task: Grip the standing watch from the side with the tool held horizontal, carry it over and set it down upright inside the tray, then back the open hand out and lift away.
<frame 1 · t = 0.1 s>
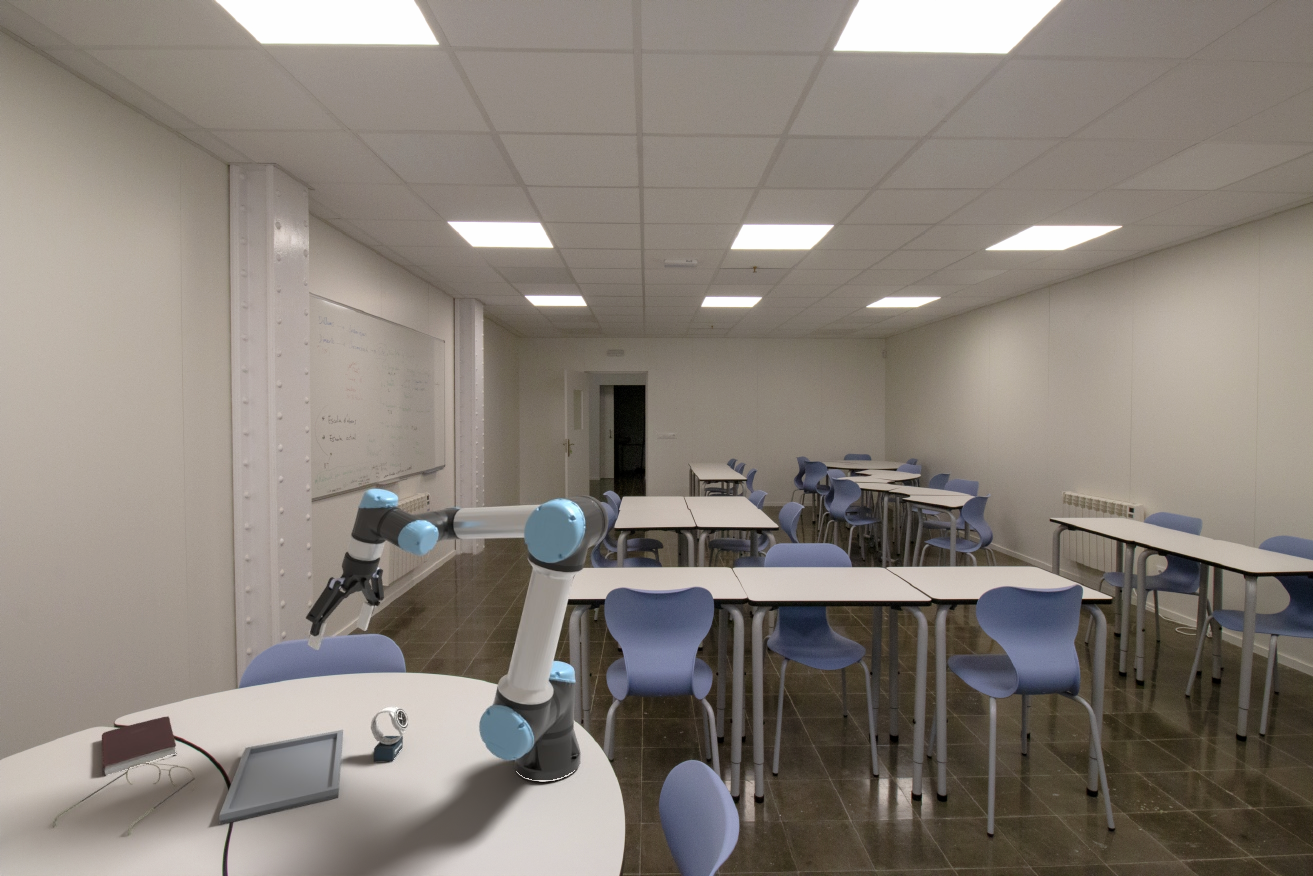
hand: (338, 637, 134), 28 cm above the table, tool tilted 20°, fingers open, 13 cm apart
eyeglasses: (130, 809, 114), on the table
watch: (388, 756, 135), on the table
tray: (289, 775, 126), on the table
book: (138, 751, 135), on the table
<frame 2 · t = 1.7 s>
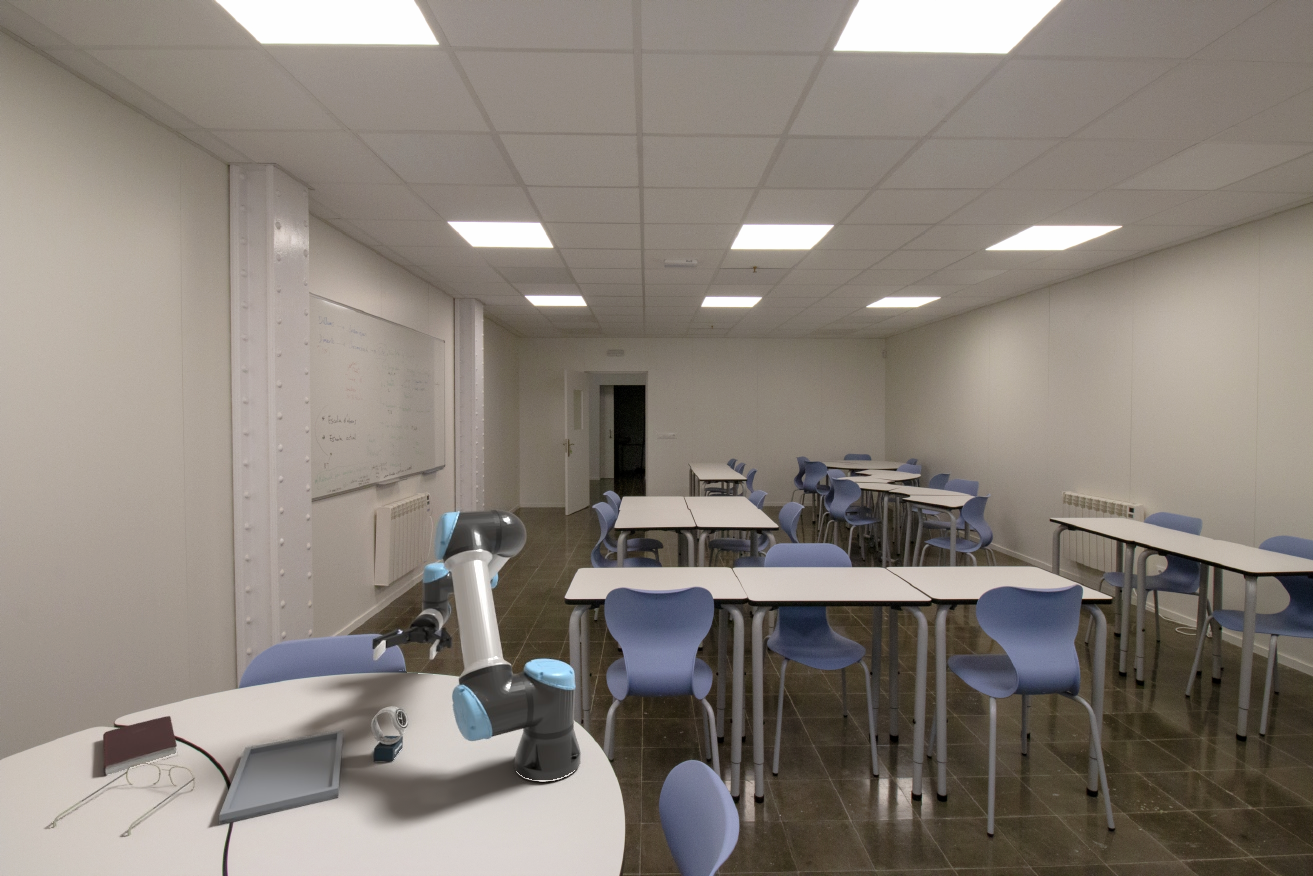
hand: (403, 654, 144), 20 cm above the table, tool horizontal, fingers open, 13 cm apart
nothing on the table moved.
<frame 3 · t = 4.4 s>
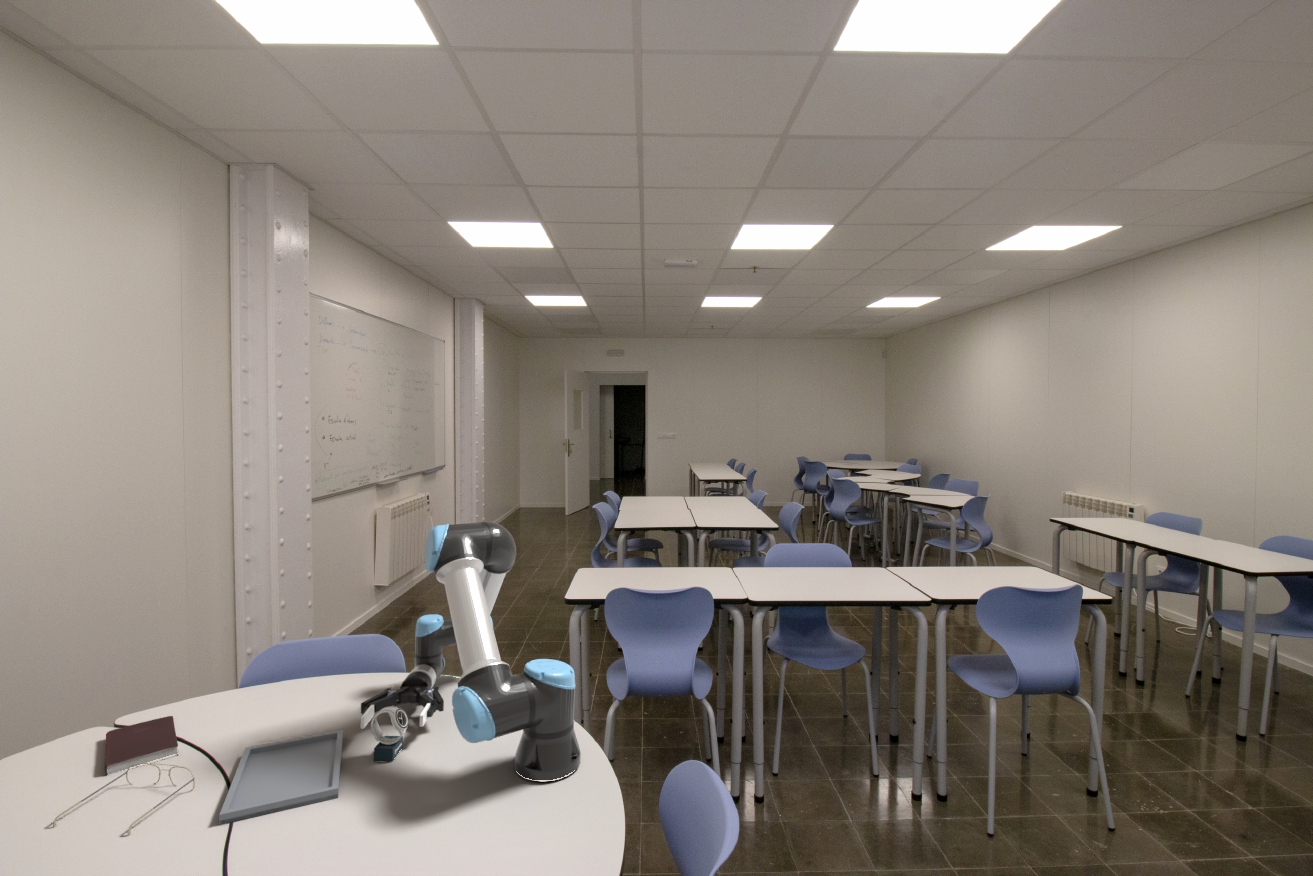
hand: (391, 722, 138), 6 cm above the table, tool horizontal, fingers open, 13 cm apart
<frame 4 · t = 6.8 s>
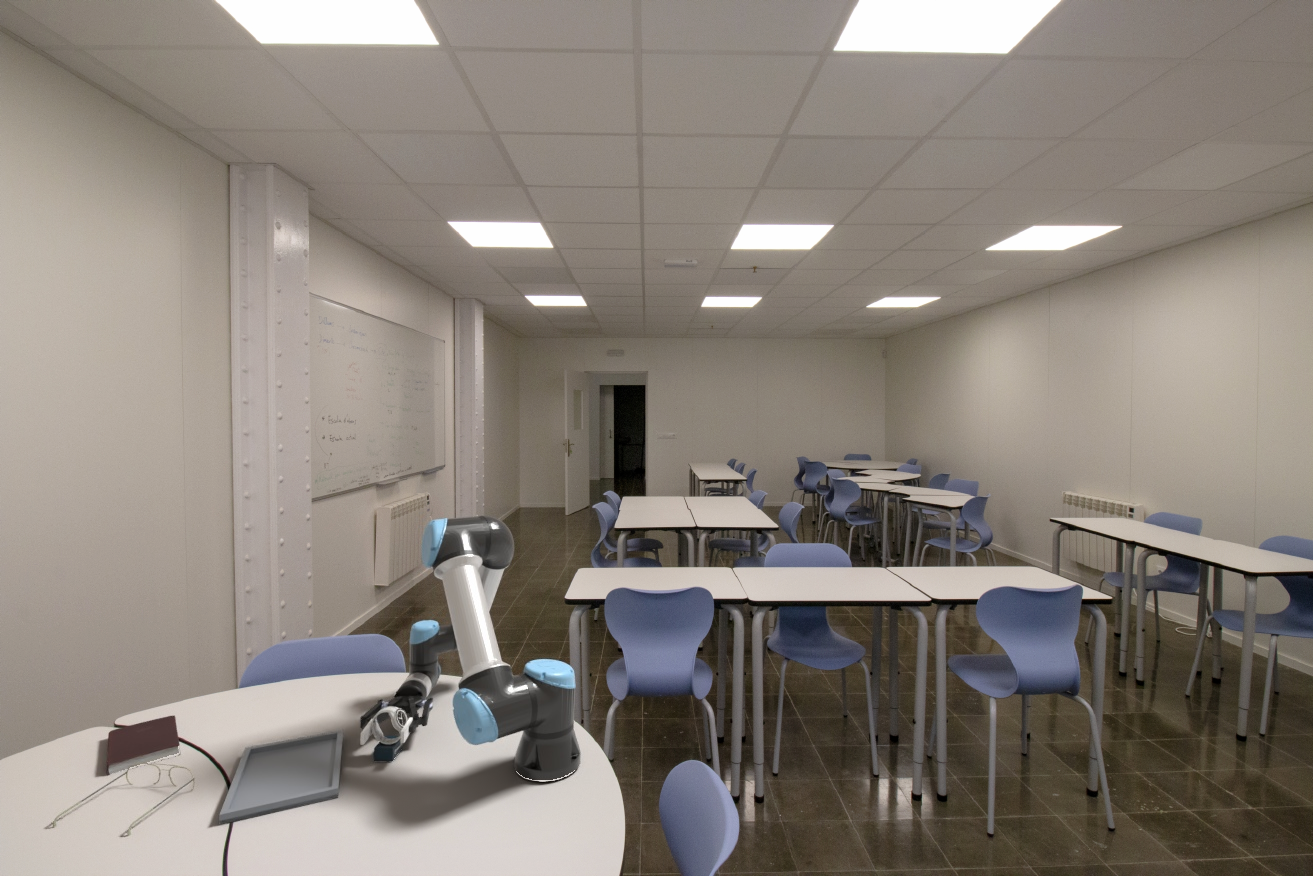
hand: (382, 738, 130), 7 cm above the table, tool horizontal, fingers closed on watch, 8 cm apart
watch: (388, 755, 135), on the table, touching gripper
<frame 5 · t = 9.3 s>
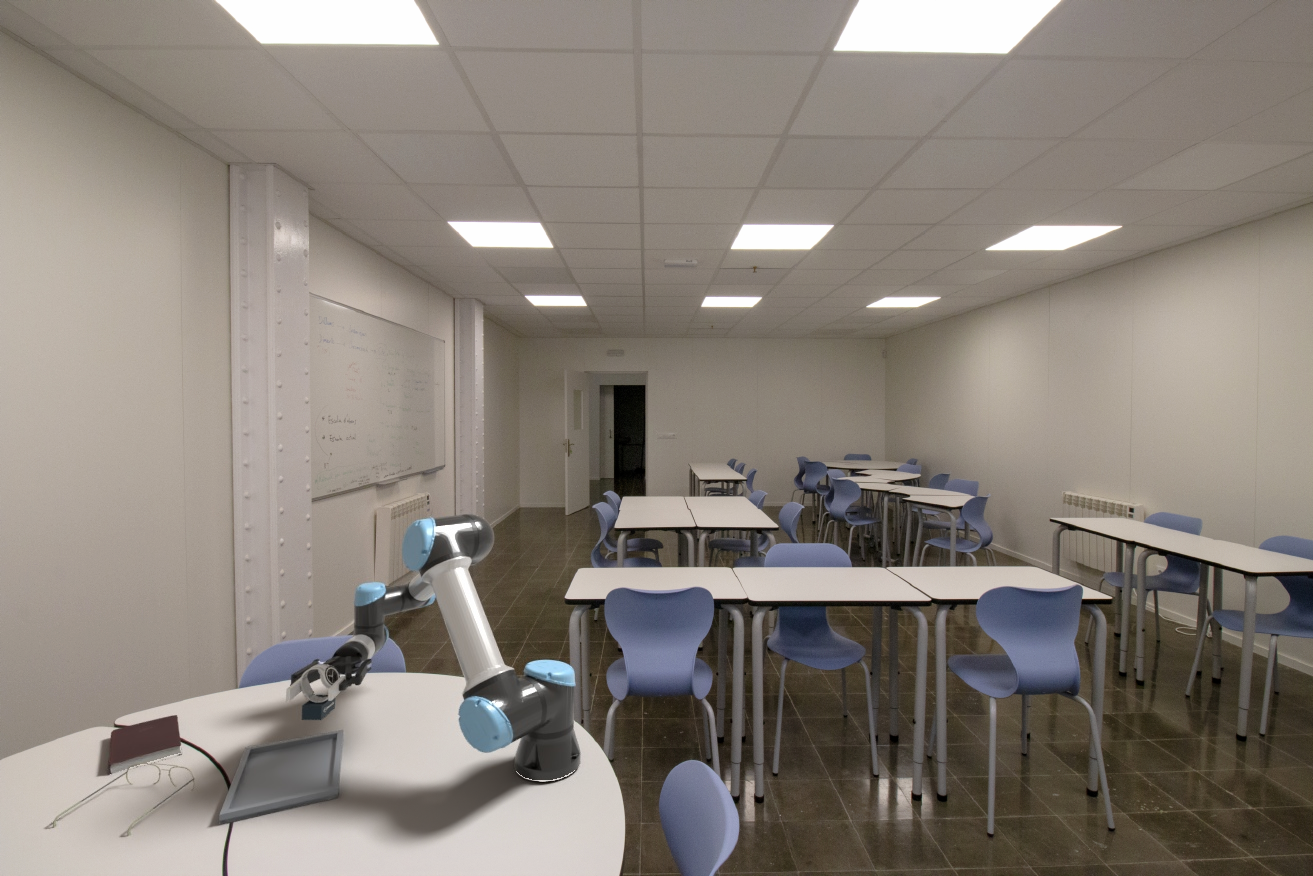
hand: (309, 695, 125), 18 cm above the table, tool horizontal, fingers closed on watch, 8 cm apart
watch: (319, 714, 130), point 12 cm above the table, touching gripper
when the fingers open (9 cm above the table, at t = 12.3 s): watch drops 2 cm, resting on tray.
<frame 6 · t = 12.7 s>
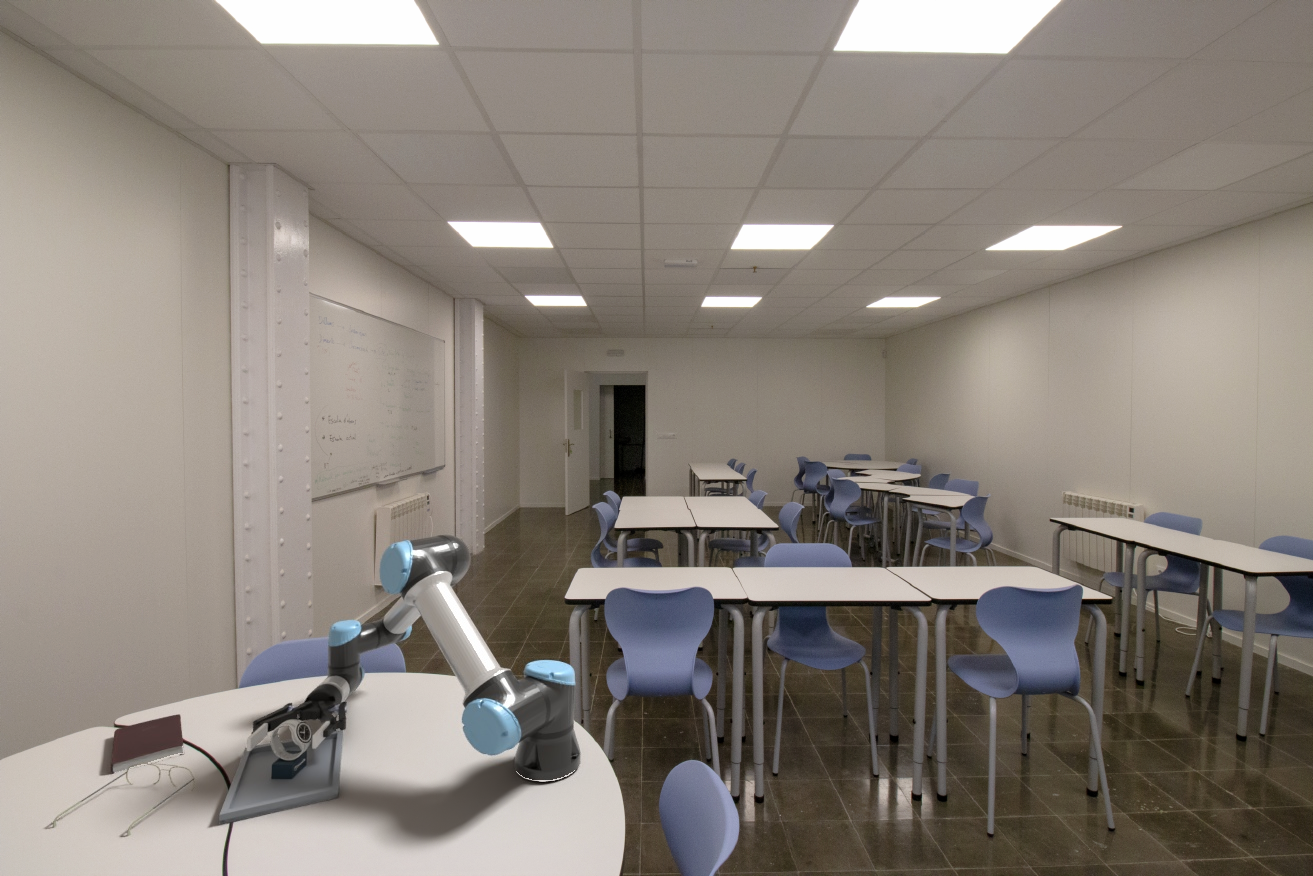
hand: (281, 743, 122), 9 cm above the table, tool horizontal, fingers open, 12 cm apart
watch: (289, 772, 126), point 1 cm above the table, touching tray
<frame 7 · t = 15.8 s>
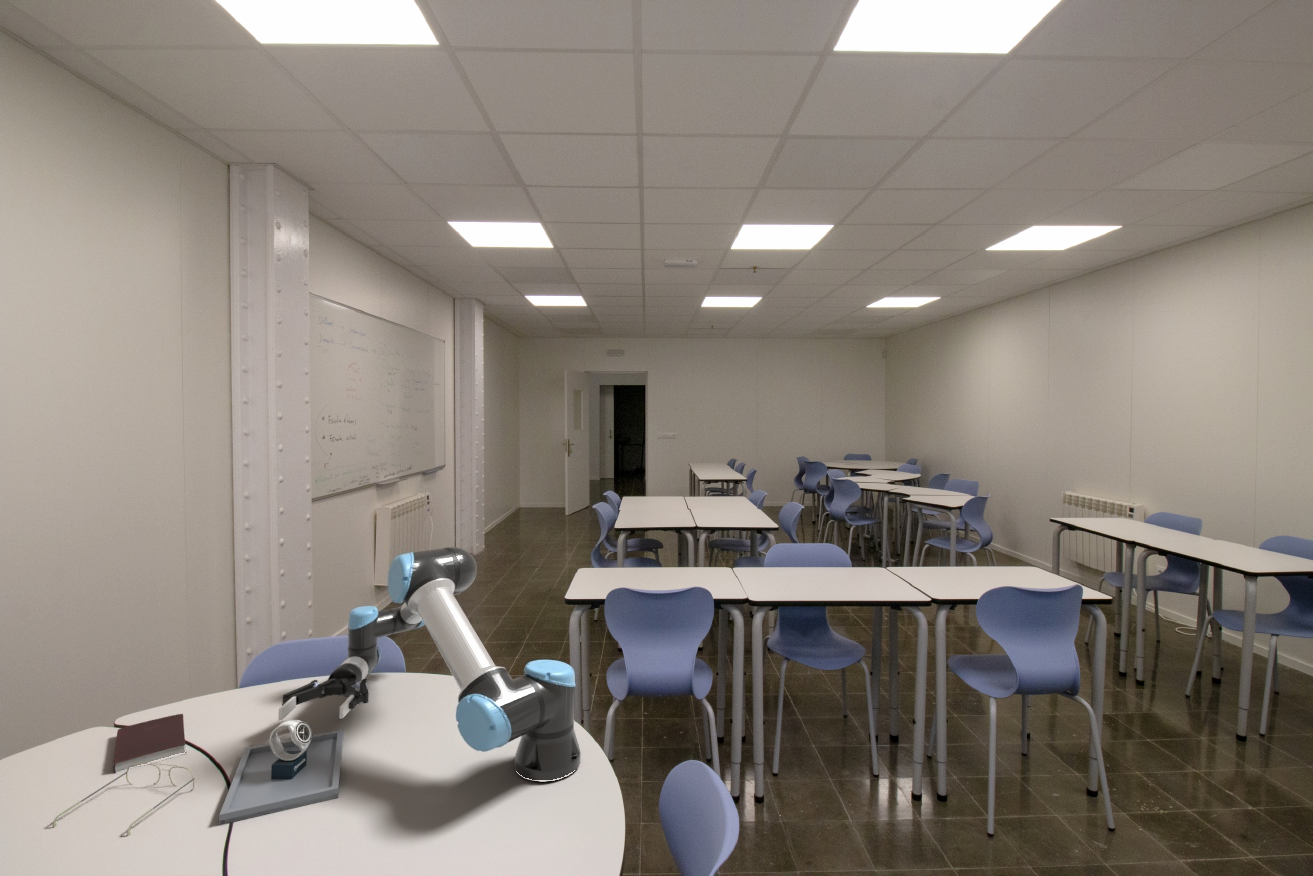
hand: (310, 714, 135), 9 cm above the table, tool horizontal, fingers open, 13 cm apart
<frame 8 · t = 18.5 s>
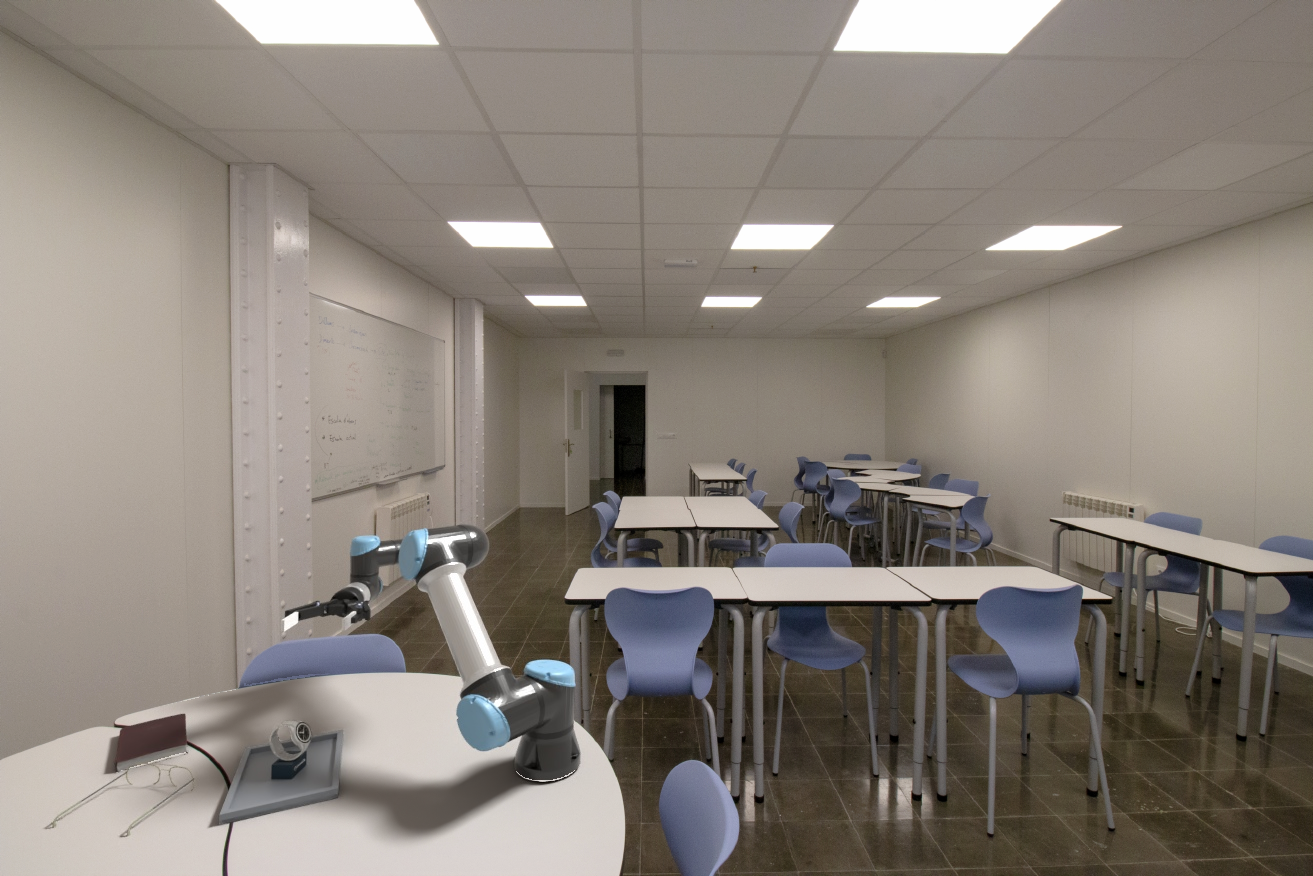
hand: (313, 625, 135), 30 cm above the table, tool horizontal, fingers open, 13 cm apart
at the end: watch inside the target area on the tray (0.1 cm from its centre), point 0.6 cm above the tray's base; watch tilted 0°; the gripper is holding nothing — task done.
